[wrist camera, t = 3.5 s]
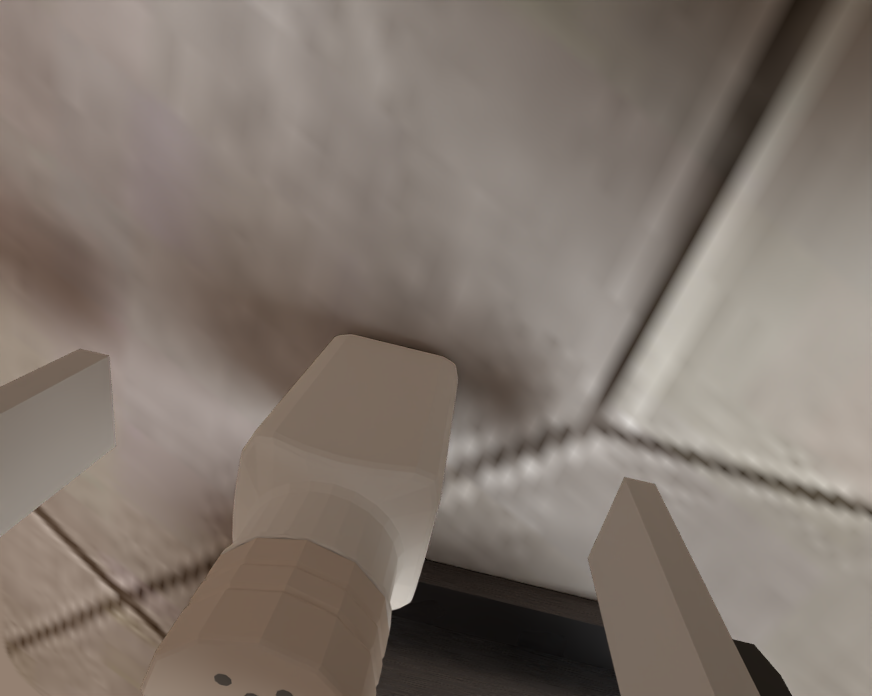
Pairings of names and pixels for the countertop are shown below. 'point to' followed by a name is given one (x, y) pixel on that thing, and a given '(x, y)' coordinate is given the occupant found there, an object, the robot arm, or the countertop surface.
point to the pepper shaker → (321, 532)
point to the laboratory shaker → (494, 640)
